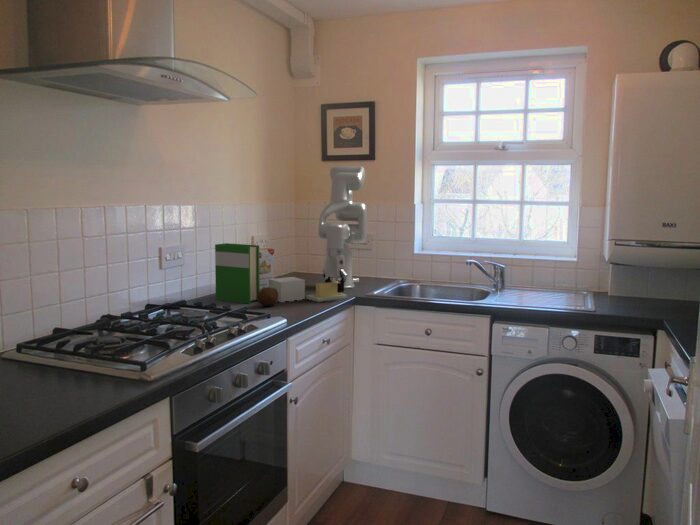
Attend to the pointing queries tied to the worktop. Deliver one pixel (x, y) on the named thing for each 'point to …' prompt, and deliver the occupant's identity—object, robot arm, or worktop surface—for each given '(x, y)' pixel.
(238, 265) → the hardback book
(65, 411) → the worktop surface
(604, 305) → the worktop surface
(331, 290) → the tan wooden brick
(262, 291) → the potato
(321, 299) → the tray
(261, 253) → the cracker box
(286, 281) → the notched white block
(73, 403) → the worktop surface
